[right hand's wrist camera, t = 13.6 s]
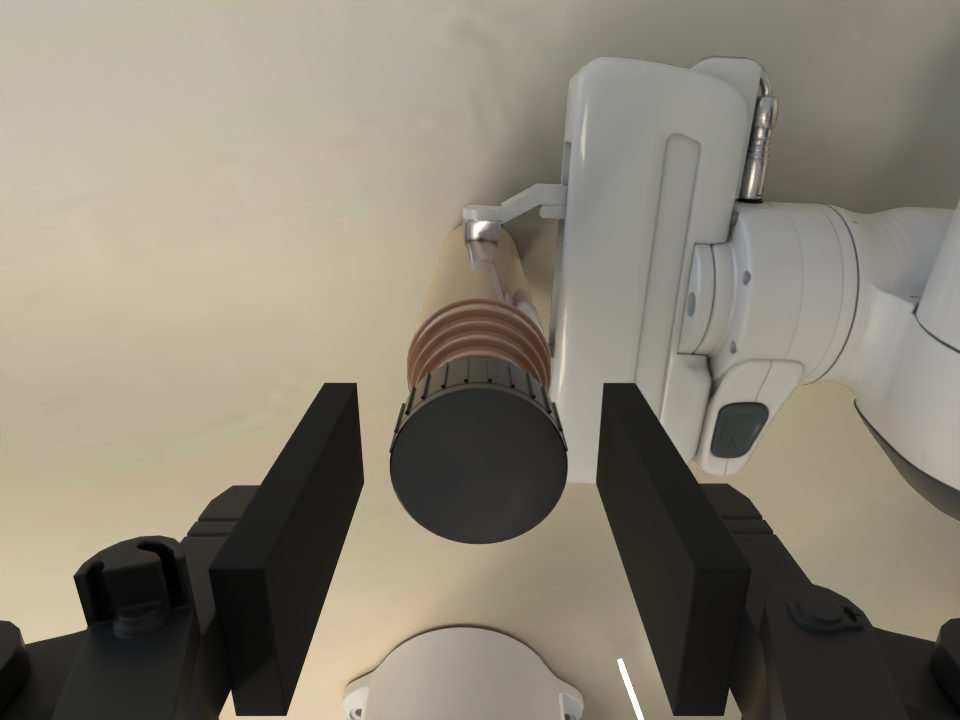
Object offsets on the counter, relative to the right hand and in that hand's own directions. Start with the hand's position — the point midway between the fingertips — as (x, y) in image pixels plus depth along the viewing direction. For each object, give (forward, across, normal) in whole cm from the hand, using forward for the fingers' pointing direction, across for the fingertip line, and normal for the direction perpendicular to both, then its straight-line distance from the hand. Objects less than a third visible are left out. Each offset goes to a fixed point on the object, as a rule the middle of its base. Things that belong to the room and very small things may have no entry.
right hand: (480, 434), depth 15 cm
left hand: (+16, -1, 0) cm, 16 cm away
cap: (-1, 0, 0) cm, 1 cm away
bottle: (+22, 0, 0) cm, 22 cm away
